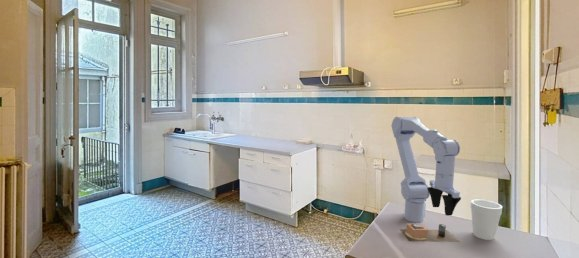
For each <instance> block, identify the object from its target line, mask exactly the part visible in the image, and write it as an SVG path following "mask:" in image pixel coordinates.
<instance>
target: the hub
mask: <svg viewBox="0 0 579 258" xmlns="http://www.w3.org/2000/svg"><path fill="white" fill-rule="evenodd" d="M411 224H412V227H413V228H414V229H422V226H421V225H419V224H413V223H411ZM405 235H406V236H408V237H410V238H412V239H415V240H426V239H427V238H428V236H427V238H413V237H412V236H411V235H410V234H408V233H407V232H406V231H405ZM405 235H404V236H405Z"/></svg>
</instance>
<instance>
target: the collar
mask: <svg viewBox="0 0 579 258" xmlns="http://www.w3.org/2000/svg"><path fill="white" fill-rule="evenodd" d="M412 224H419V225H421V226H422V229H414V228H413V227H412ZM405 229H406V232H407V233H408V234H410V235H411V236H412V237H413V238H427V235H428V230H429V229H428V228H426V227H425V226H424V225H423V224H422V223H421V222H412V223H406V228H405Z"/></svg>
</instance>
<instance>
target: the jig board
mask: <svg viewBox="0 0 579 258" xmlns="http://www.w3.org/2000/svg"><path fill="white" fill-rule="evenodd" d="M399 230H400V232H401V233H402V234H403V236H404V237H405V238H406V239H407V240H408V241H409V242H436V243H437V242H441V243H443V242H445V243H461V241H460V240H459V239H458V238H457V237H456V236H454V235H453V233H452V232H450V231H449V230H447V229H446V230H445V237H441V236H439V235H438V230H439V229H428V235H427V236H428V238H427V239H426V240H415V239H412V238H410V237H408V236H406V235H405V231H406V228H399Z"/></svg>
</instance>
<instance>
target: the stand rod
mask: <svg viewBox="0 0 579 258" xmlns="http://www.w3.org/2000/svg"><path fill="white" fill-rule="evenodd" d="M446 228H447V226H446V225H445V224H442V223H440V224H438V229H437V230H438V235H439V236H441V237H445V230H447V229H446Z"/></svg>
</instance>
